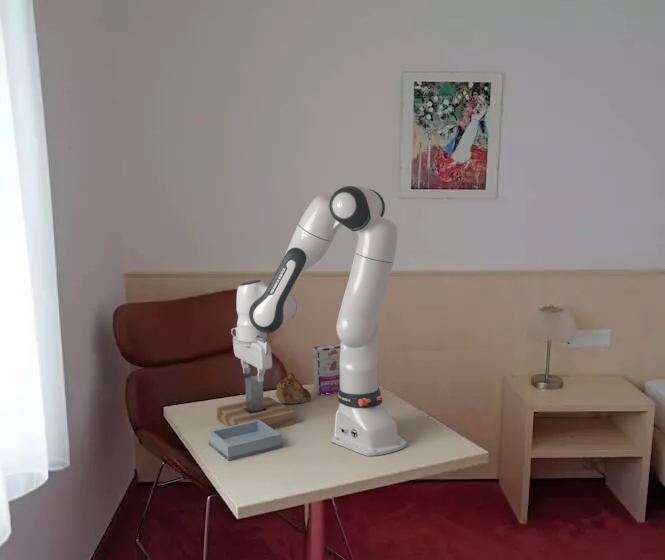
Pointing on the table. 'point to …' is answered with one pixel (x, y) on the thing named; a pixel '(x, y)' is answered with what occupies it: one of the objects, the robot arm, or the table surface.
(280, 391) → the decorative rock
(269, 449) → the tray
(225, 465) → the table surface
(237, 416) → the block
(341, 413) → the robot arm
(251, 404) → the pin
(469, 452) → the table surface
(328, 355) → the candy bar box
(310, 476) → the table surface
